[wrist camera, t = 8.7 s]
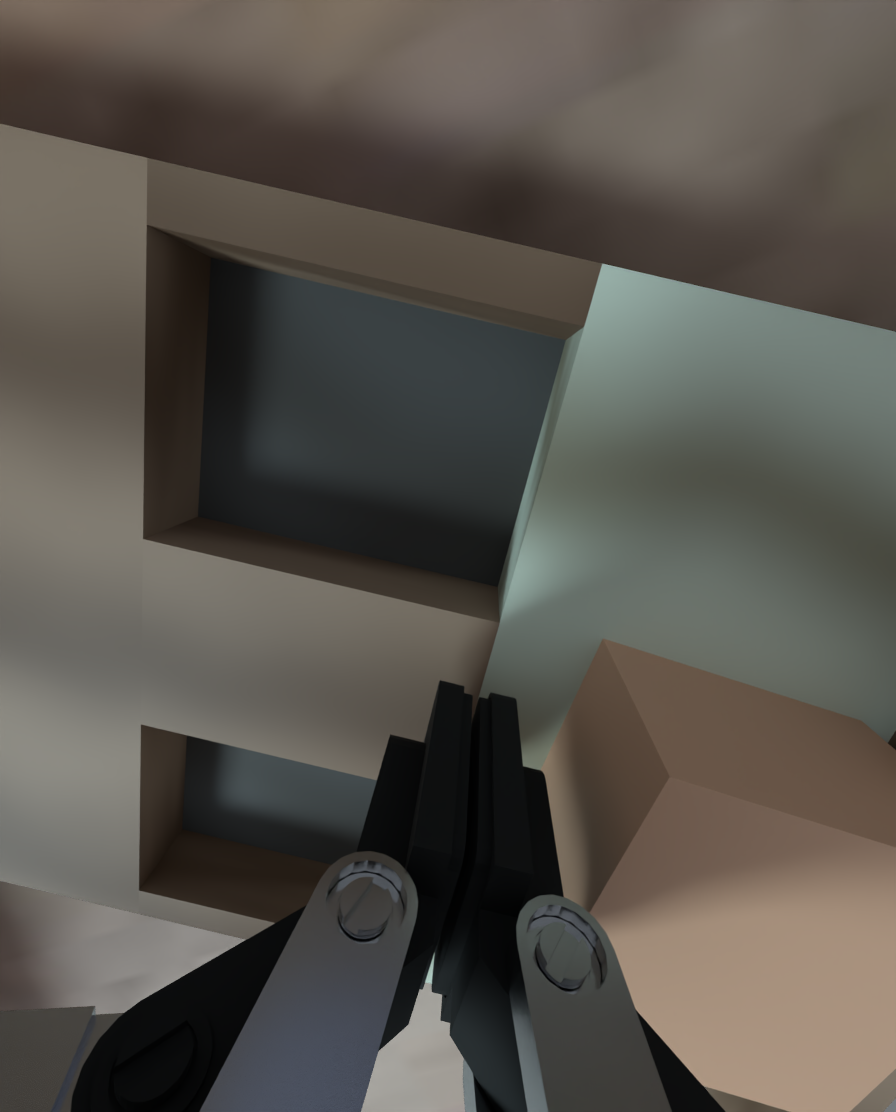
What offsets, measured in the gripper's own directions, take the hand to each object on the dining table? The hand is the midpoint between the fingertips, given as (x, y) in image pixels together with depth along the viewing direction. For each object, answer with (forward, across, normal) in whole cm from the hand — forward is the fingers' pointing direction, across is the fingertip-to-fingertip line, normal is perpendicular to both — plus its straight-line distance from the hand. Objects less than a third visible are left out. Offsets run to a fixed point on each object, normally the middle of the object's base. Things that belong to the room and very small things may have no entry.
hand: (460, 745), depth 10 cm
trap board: (+4, +4, 0) cm, 5 cm away
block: (+1, -5, 0) cm, 5 cm away
